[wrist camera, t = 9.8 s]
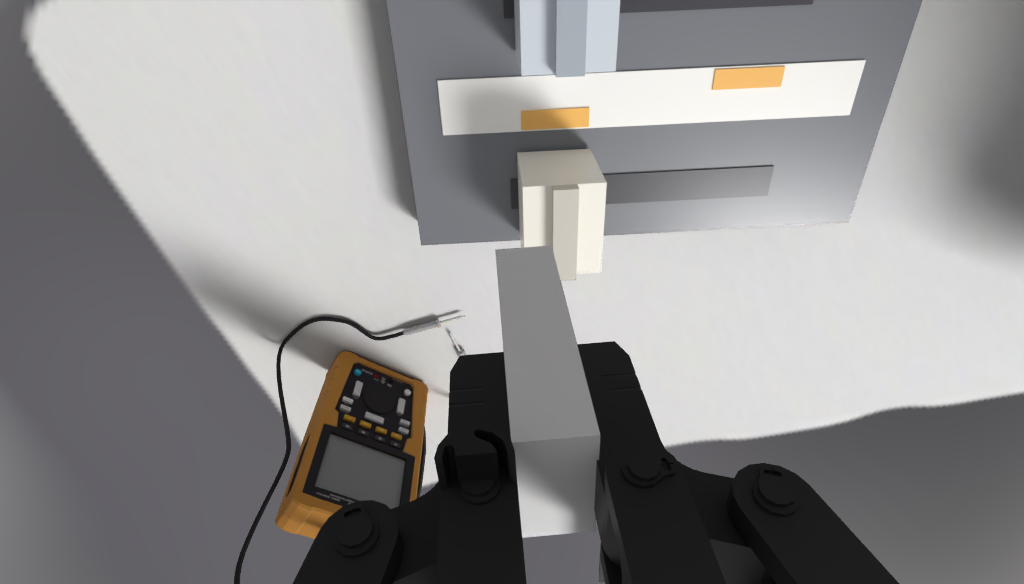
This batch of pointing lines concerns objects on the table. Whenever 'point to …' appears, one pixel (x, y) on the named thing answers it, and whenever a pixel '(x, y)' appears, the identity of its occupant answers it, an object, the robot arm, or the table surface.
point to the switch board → (652, 112)
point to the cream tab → (563, 207)
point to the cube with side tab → (566, 36)
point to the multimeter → (353, 441)
